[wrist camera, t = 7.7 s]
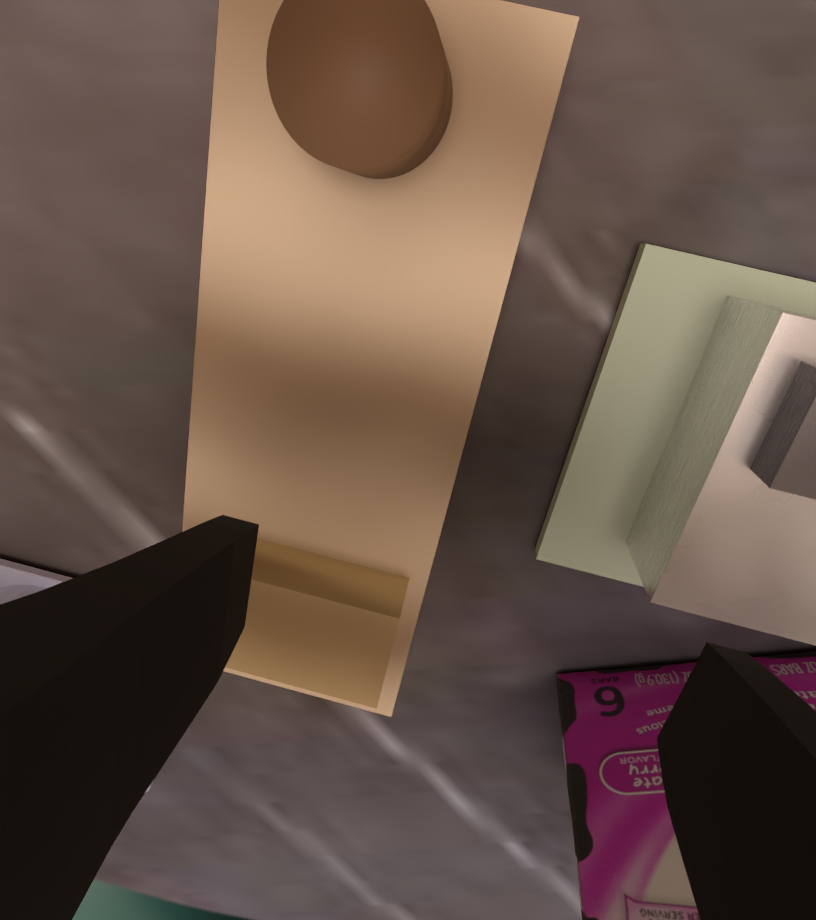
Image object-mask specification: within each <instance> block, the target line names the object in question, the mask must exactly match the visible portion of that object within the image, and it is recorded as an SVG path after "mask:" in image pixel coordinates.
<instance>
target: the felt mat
mask: <svg viewBox="0 0 816 920" xmlns="http://www.w3.org/2000/svg"><path fill="white" fill-rule="evenodd" d="M727 295H729V296H733V297H737V298H742V299H746V300H750V301H754V302H759V303H763V304H767V305H771V306H776V307H780V308H784V309H788V310H793V311H797V312H801V313H805V314H810V315H814V316H816V283H815V282H811V281H806V280H802V279H798V278H793V277H789V276H784V275H780V274H776V273H771V272H767V271H763V270H758V269H754V268H750V267H745V266H741V265H737V264H732V263H728V262H724V261H719V260H715V259H710V258H706V257H702V256H697V255H693V254H689V253H684V252H680V251H676V250H671V249H667V248H663V247H658V246H654V245H650V244H645V243H640V246H639V249H638V252H637V254H636V257H635V260H634V263H633V266H632V269H631V272H630V275H629V278H628V280H627V283H626V286H625V289H624V292H623V295H622V298H621V301H620V304H619V307H618V309H617V312H616V315H615V318H614V321H613V324H612V327H611V330H610V333H609V335H608V338H607V341H606V344H605V347H604V350H603V353H602V356H601V359H600V362H599V364H598V367H597V370H596V373H595V376H594V379H593V382H592V385H591V388H590V391H589V393H588V396H587V399H586V402H585V405H584V408H583V411H582V414H581V417H580V419H579V422H578V425H577V428H576V431H575V434H574V437H573V440H572V443H571V446H570V448H569V451H568V454H567V457H566V460H565V463H564V466H563V469H562V472H561V474H560V477H559V480H558V483H557V486H556V489H555V492H554V495H553V498H552V501H551V503H550V506H549V509H548V512H547V515H546V518H545V521H544V524H543V527H542V530H541V532H540V535H539V538H538V541H537V544H536V547H535V555H536V559H537V560H541V561H545V562H549V563H553V564H557V565H561V566H564V567H568V568H572V569H576V570H580V571H584V572H588V573H592V574H596V575H599V576H603V577H607V578H611V579H615V580H619V581H623V582H627V583H631V584H634V585H638V586H642V587H644V586H643V584H642V581H641V579H640V576H639V574H638V571H637V569H636V566H635V564H634V561H633V559H632V556H631V554H630V551H629V549H628V547H627V544H626V542H625V540H626V538H627V536H628V533H629V531H630V528H631V526H632V524H633V521H634V519H635V516H636V514H637V512H638V509H639V507H640V504H641V502H642V500H643V497H644V495H645V492H646V490H647V488H648V485H649V483H650V480H651V478H652V476H653V473H654V471H655V468H656V466H657V464H658V461H659V459H660V456H661V454H662V452H663V449H664V447H665V444H666V442H667V440H668V437H669V435H670V432H671V430H672V428H673V425H674V423H675V420H676V418H677V416H678V413H679V411H680V408H681V406H682V404H683V401H684V399H685V396H686V394H687V392H688V389H689V387H690V384H691V382H692V380H693V377H694V375H695V372H696V370H697V368H698V365H699V363H700V360H701V358H702V356H703V353H704V351H705V348H706V346H707V343H708V341H709V339H710V336H711V334H712V331H713V329H714V327H715V324H716V322H717V319H718V317H719V315H720V312H721V310H722V307H723V305H724V303H725V300H726V298H727Z"/></svg>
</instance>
